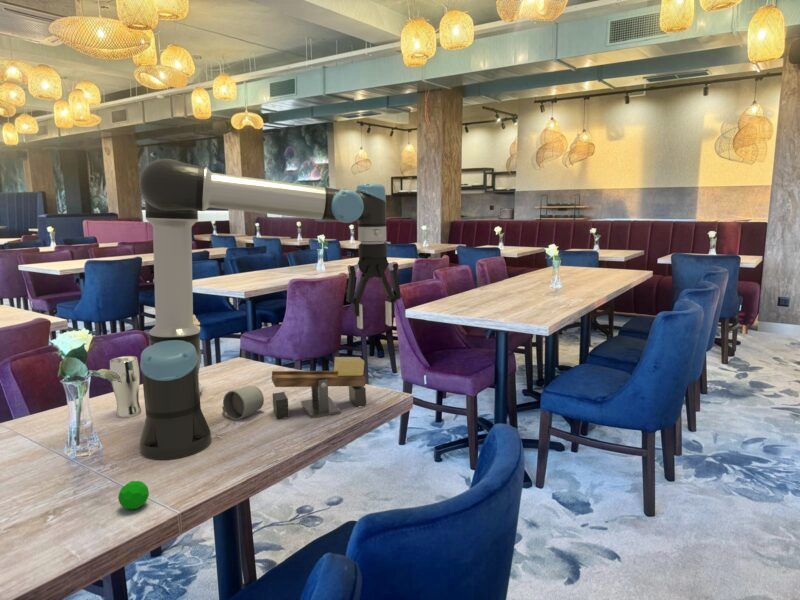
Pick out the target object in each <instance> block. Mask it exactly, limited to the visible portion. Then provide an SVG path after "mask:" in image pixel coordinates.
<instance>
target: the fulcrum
mask: <svg viewBox="0 0 800 600" xmlns="http://www.w3.org/2000/svg"><path fill="white" fill-rule="evenodd" d="M310 388H311V391H310V392H311V399H304V400H300V404H301V406H302V408H303V409H304V411H305V412H306V414H307V415H308V417H309V419H316V418H322V417H329V415H330V416H336V414H337V415H341V410H340V409H339V407H338V406H337V404H336V403H334V401H333V400H332V398H331V397H330V396H329V386H328V380H327V379H324V380H318V387H310ZM366 391H367V390H366V386H348V397H349V398H348V399H349V402H350V403H351V405H352V406H354V408H360V407H359V406H362V407H366V406H367V392H366ZM365 405H366V406H365ZM272 407H273V410H272V411H273V413H274V415H275V418H276V420H282V419H287V418H290V417H289V416H290V415H289V414H290V413H289V412H290V411H289V398H288V396H287V395H286V393H285V392H284V391H281V392H273V393H272Z"/></svg>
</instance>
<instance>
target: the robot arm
mask: <svg viewBox="0 0 800 600" xmlns="http://www.w3.org/2000/svg"><path fill="white" fill-rule="evenodd" d="M138 180H139V181H138V182H139V189H140V193H141V195H142V197H143V199H144V207H145V208H144V210H145V220H146V221H147V222H148V223H150V225H151V226H152V241H153V245H152V246H153V272H154V273H153V274H154V275H153V278H154V279H153V280H154V283H153V284H154V313H155V317H154V318H155V325H154V326H153V327H152V328H151V329H150V330H149V332H148V336H149V337H148V342H149V343H148V344H149V345H148V346H147V347H145V348H144V349H143V350H142V352H141V354H140V362H139V369H140V371H141V377H142V388H143V397H144V399H143V400H144V408H145V409H144V410H145V421H144V424H143V428H142V432H141V436H140V440H139V446H140V448H139V449H140V453H141V455H142V456H143V457H146V458H148V459H154V460H172V459H178V458H183V457H187V456H191V455H194V454H196V453H199V452H200V451H203V450H204V449H206V448H207V447H208V446H209V445H210V444H211V442H212V434H211V433H212V432H211V428H210V426H209V424H208V422H207V419H206V418H205V415H204V413H203V411H202V406H201V396H200V393H201V392H199V383H200V381H199V374H200V367H201V363H202V358H203V357H202V351H201V329H200V330H199V329H198V328H197V327H196V326H195V325H194V324H193V315H194V305H193V304H194V296H193V295H194V294H193V293H194V292H193V256H192V255H193V251H192V250H193V247H192V244H193V240H192V239H193V238H192V234H193V233H192V227H193V226H194V225H195V224H196V223H197V222H198V221H199V216H198V215H199V212H205V211H207V210H208V209H209V208H213V209H223V210H230V211H231V210H232V211H242V212H250V213H257V214H258V213H259V214H265V215H267V214H268V215H275V216H276V215H279V216H284V217H285V216H287V217H296V218H304V219H313V220H314V221H315V222H325V223H327V222H337V223H338V222H339V223H344V224H352V223H353V222H355V221H357V228H358V229H357V233H358V234H357V236H358V237H357V240H358V242H359V244H358V261H357V264H353V265H347V270H348V271H347V272H348V280H347V281H348V282H347V289H346V298H345V300H346V302H347V303H349V304H352V305H353V307H352V308H353V309H352V310H353V316H354V317H356V327H357V328H358V329H359V330H363V329H364V321H363V320H364V319H363V317H364V315H363V313H364V311H363V304H361V300H362V297H363V295H364V291H365V290H366V286H367V284H368V281H369V279H373V278H378V280H379V281H380V284H381V286H382V288H383V291H384V294H385V296H386V298H387V300H385V303H384V304H385V305H384V306H385V325H387V326H388V327H392V325H393V323H392V321H393V320H392V319H393V317H392V314H395V311H396V309H395V303H396V302H397V301H398V300H400V299H401V298H402V294H401V287H400V280H399V276H398V269H399V264H398V263H395V262H389V260H388V247H387V246H388V244H387V243H385V242H386V241H387V200H386V197H387V196H386V187H385V186H384V185H383V184H382V183H359V184H358V185H356V190H355V191H354V190H351V189H347V188H344V189H338V188H332V187H325V186H324V187H323V186H317V185H311V184H310V185H308V184H301V183H293V182H286V181H279V180H272V179H263V178H262V179H261V178H255V177H248V176H247V177H246V176H240V175H233V174H225V173H217V172H212V171H211V170H210V169H209V168H208V167H207V166H199V165H195V164H192V163H191V164H190V163H186V162H182V161H180V160H175V159H172V158H161V159H156V160H154V161H151V162H150V163H148V164H147V165H146V166H145V167H144V169H143V170H142V172H141V173H140V176H139V179H138ZM198 211H199V212H198ZM387 268H388V270H389V273H390V274H389V276H390V280H391V286H390V284H389V281H388V278H387V275H386V274H385V272H386V270H387ZM358 269H359V270H360V272H361V274H360V280H359V282H358V285H357V288H355V287H356V277H357V274H356V273H358ZM391 287H392V288H391ZM355 289H356V290H355Z"/></svg>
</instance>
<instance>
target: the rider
mask: <svg viewBox="0 0 800 600" xmlns="http://www.w3.org/2000/svg"><path fill="white" fill-rule="evenodd" d="M364 370H365V360H364V359H362V358H361V357H360V356H335V357H334V365H333V371H334V374H333V375H334V376H335V377H364Z"/></svg>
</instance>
